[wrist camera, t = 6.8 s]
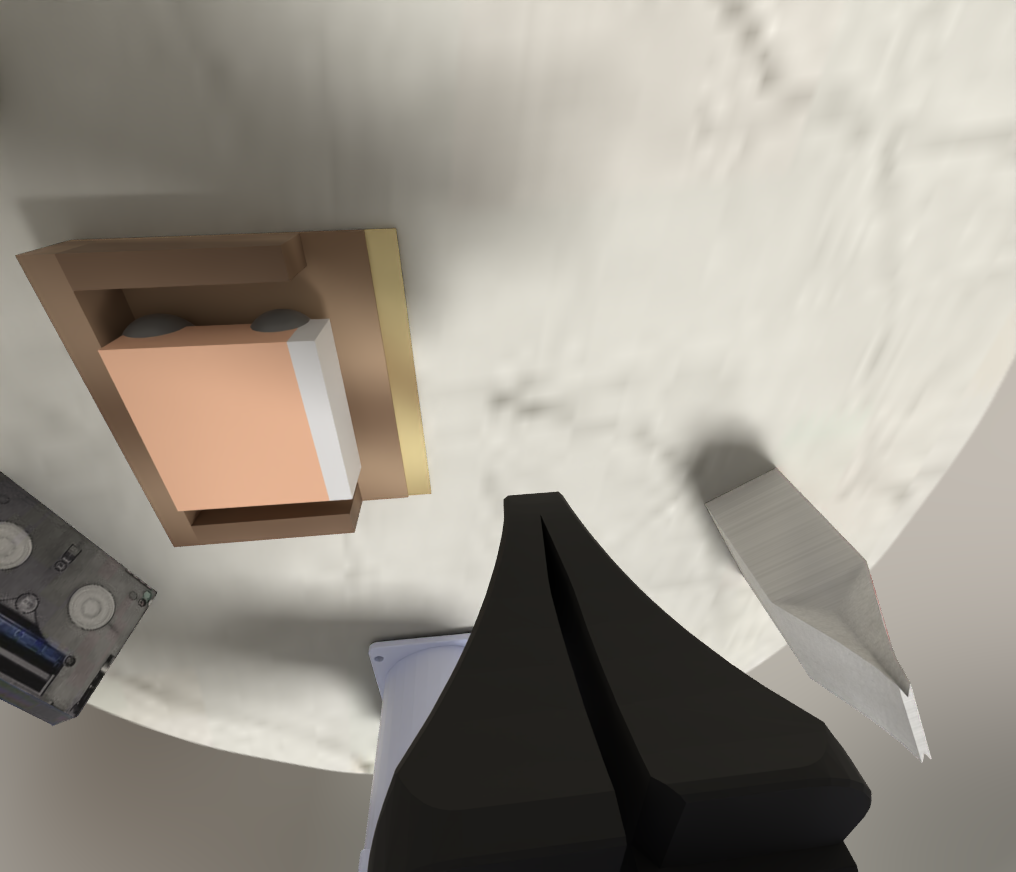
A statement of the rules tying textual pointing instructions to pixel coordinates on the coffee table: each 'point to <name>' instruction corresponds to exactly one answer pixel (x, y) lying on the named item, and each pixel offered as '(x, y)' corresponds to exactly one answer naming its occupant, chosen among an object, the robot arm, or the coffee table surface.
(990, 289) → the coffee table surface
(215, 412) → the trolley
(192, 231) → the coffee table surface
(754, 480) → the gable top carton
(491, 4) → the coffee table surface
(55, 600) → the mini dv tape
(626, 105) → the coffee table surface
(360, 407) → the tray
